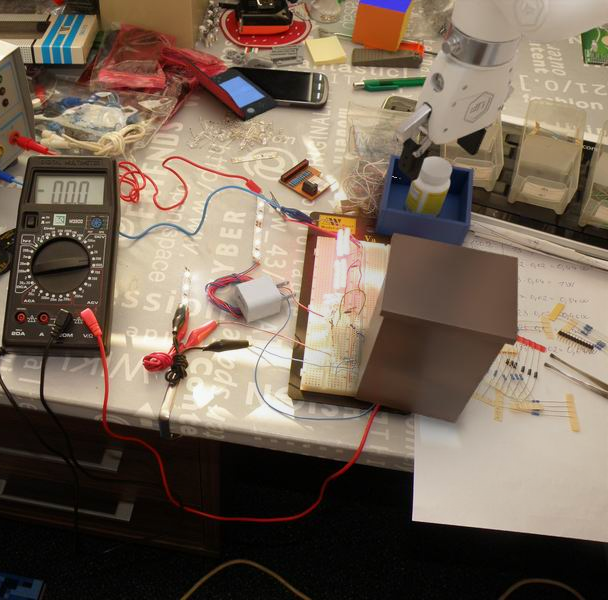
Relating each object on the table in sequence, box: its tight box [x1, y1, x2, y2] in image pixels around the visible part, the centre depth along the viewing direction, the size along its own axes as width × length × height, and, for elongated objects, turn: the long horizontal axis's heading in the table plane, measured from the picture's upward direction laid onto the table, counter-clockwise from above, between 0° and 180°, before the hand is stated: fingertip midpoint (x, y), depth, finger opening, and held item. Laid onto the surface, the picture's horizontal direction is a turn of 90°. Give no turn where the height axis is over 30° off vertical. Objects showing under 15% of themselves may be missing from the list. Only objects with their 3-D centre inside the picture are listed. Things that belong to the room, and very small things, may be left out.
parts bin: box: [374, 154, 475, 247], centre depth 91 cm, size 11×11×5 cm
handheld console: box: [181, 56, 278, 123], centre depth 106 cm, size 12×11×7 cm
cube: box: [351, 0, 415, 53], centre depth 117 cm, size 8×8×8 cm
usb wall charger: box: [234, 274, 297, 324], centre depth 82 cm, size 4×7×4 cm, turn 112°
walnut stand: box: [354, 233, 519, 424], centre depth 70 cm, size 12×10×18 cm
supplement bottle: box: [404, 155, 453, 217], centre depth 89 cm, size 5×5×8 cm
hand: (437, 160), depth 85 cm, fingers open, 9 cm apart
